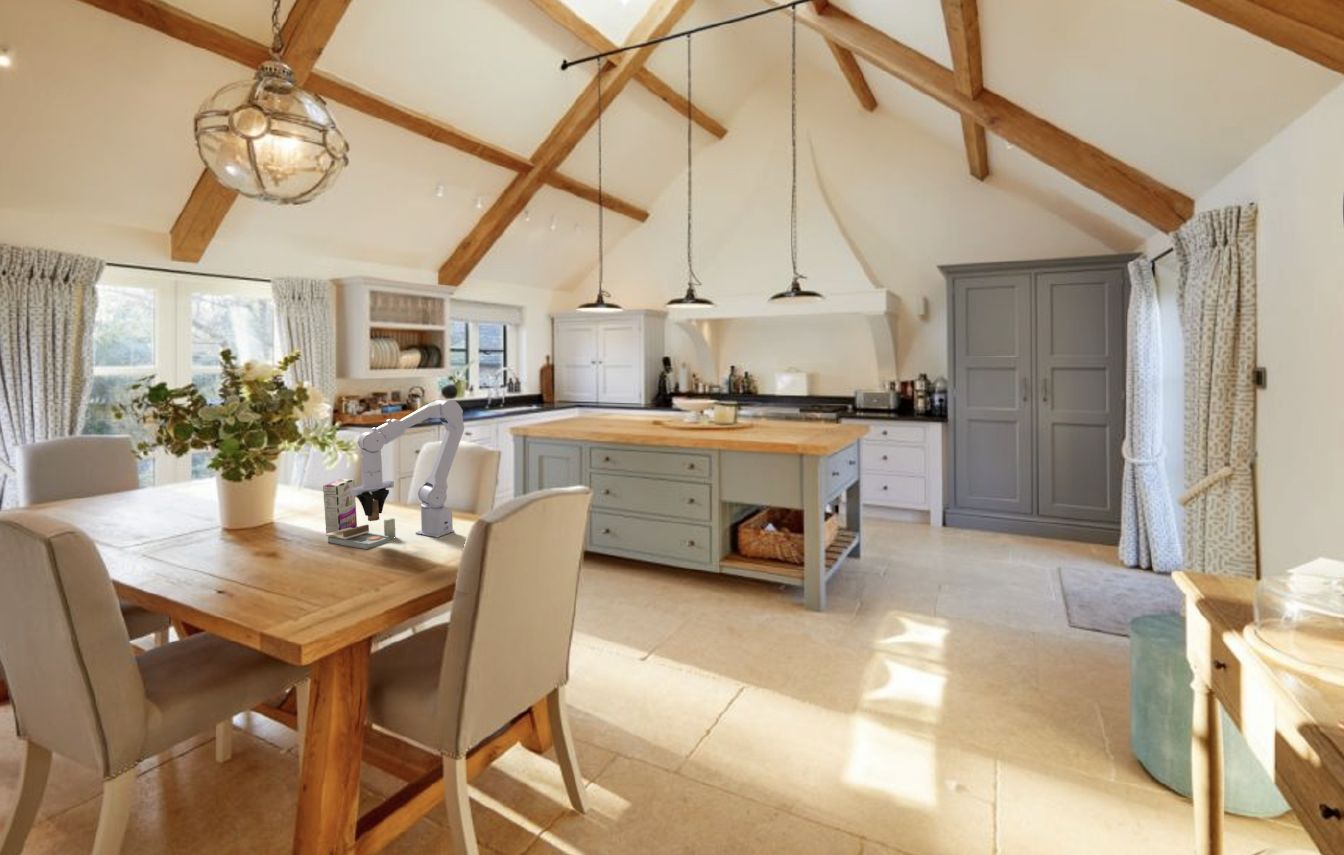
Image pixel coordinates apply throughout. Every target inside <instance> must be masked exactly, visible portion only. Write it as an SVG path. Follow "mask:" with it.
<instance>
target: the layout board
mask: <svg viewBox="0 0 1344 855" xmlns="http://www.w3.org/2000/svg"><path fill="white" fill-rule="evenodd" d="M329 542H330V544H336V545H342V546H347V547H353V548H359V549H363V550H366V549H370V548H373V547H377V546H379V545H383V544H385V543H389V542H390V539H389V536H384V534H378V533H371V532H368V533H365V534H362V535H358V536H355V537H351V538H348V539H342V538H336V537H330V536H327V543H329Z"/></svg>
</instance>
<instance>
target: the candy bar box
mask: <svg viewBox="0 0 1344 855" xmlns="http://www.w3.org/2000/svg"><path fill="white" fill-rule="evenodd" d="M322 488H323V490H322V491H323V503H324V504H323V505H324V506H323V507H324V520H325V533H326V534H328V533H331V532H335V531H338V530H342V529H345V528H349V527H351V528H356V527H358V522H357V507H356V506H357V505H356V504H357V503H356V496H352V495H350V489H353V488H356V487H355V479H354V478H340V479H337V480H335V481H332V482H329V483H327V484H324V485H323V486H322ZM326 534H325V535H326Z"/></svg>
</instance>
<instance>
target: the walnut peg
mask: <svg viewBox="0 0 1344 855" xmlns="http://www.w3.org/2000/svg"><path fill="white" fill-rule="evenodd" d="M379 520H380V513H379V503H378V500H376V499H375V500H374V499H373V504H372V516H367V521H368V522H374V521H379Z"/></svg>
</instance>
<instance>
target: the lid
mask: <svg viewBox="0 0 1344 855" xmlns="http://www.w3.org/2000/svg"><path fill="white" fill-rule="evenodd" d="M369 527H370V526H369V524H363V525H359V526H355V527H354V528H351V527H349V528H345V529H342V530H338V531H335V532H331V533H328V534H325V537H336V538H342V539H348V538H351V537H355V536H358V535H362V534H365V533H370V528H369Z"/></svg>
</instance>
